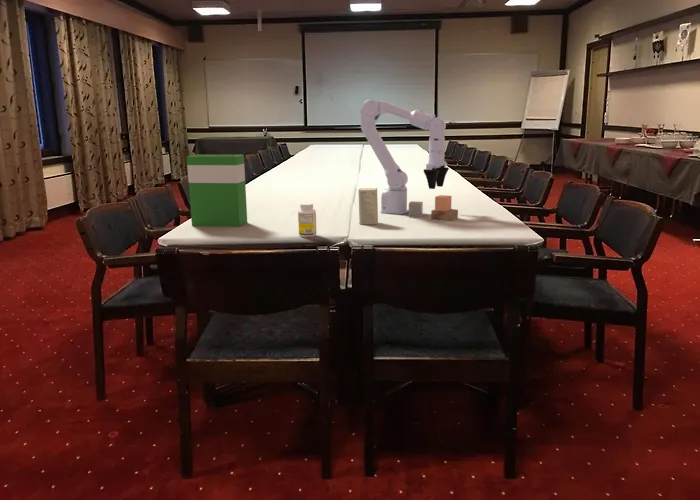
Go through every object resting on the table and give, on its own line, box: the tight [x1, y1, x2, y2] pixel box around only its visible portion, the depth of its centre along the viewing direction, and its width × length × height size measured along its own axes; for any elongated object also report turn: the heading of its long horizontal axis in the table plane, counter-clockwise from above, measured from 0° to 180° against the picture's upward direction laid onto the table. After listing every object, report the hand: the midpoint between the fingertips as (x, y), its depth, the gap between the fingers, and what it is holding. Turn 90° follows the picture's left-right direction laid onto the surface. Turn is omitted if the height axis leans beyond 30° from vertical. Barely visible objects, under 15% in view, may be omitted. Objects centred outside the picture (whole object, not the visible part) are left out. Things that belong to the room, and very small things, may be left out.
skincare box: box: [358, 187, 379, 225], centre depth 199 cm, size 6×4×12 cm
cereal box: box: [186, 154, 248, 228], centre depth 200 cm, size 18×7×24 cm, turn 79°
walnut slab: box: [430, 208, 459, 222], centre depth 207 cm, size 7×7×4 cm
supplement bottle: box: [297, 202, 317, 238], centre depth 180 cm, size 6×6×10 cm
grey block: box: [408, 200, 424, 218], centre depth 214 cm, size 4×4×5 cm
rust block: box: [434, 194, 452, 211], centre depth 206 cm, size 4×4×5 cm
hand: (435, 187), depth 216 cm, fingers open, 7 cm apart
